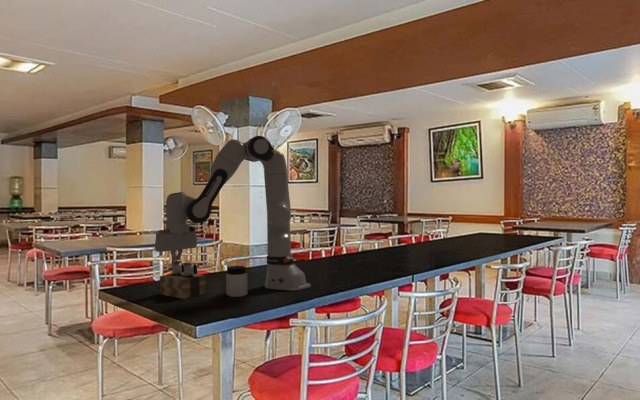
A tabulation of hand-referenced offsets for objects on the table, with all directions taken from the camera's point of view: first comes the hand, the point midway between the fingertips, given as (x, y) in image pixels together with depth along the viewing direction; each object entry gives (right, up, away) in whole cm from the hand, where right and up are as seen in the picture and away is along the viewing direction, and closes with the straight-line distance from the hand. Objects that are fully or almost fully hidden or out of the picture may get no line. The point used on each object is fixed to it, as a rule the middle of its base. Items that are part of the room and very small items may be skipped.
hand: (176, 260), depth 206 cm
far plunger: (0, -8, 0) cm, 8 cm away
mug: (0, -15, +17) cm, 23 cm away
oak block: (+3, -15, -2) cm, 15 cm away
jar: (+27, -15, -5) cm, 32 cm away
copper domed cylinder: (+7, -8, -5) cm, 11 cm away
